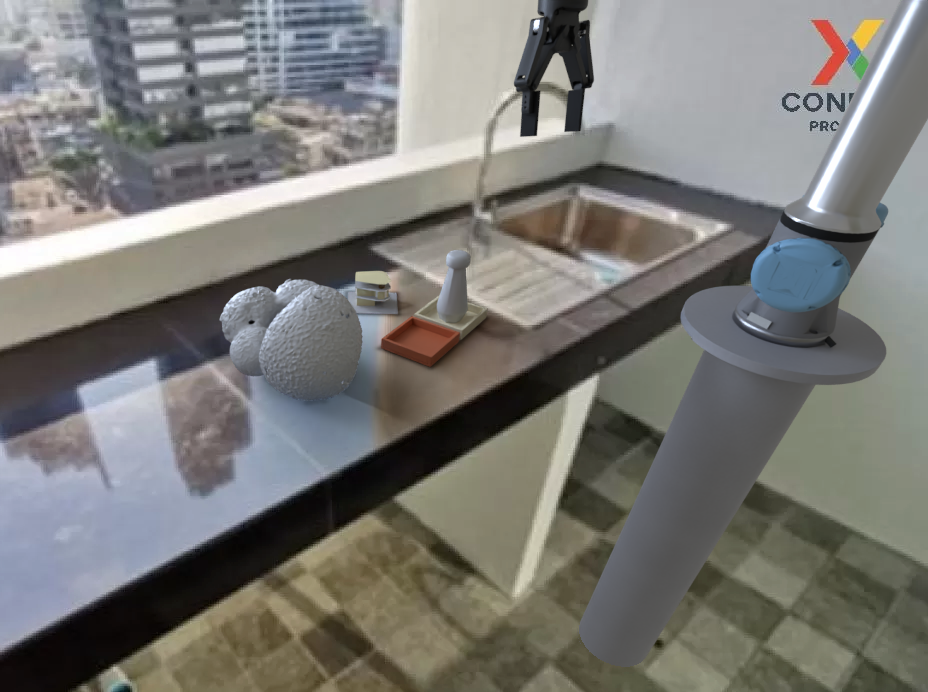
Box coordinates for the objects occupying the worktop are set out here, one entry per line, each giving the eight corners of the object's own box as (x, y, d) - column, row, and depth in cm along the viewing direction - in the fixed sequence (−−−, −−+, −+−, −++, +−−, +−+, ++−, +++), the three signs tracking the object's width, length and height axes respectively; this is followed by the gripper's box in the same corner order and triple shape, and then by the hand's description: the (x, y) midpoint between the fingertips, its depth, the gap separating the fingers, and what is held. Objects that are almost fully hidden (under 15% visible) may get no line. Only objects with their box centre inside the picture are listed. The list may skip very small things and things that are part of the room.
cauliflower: (323, 286, 111) (289, 208, 91) (397, 387, 102) (378, 325, 81) (231, 347, 112) (176, 284, 91) (296, 454, 102) (251, 409, 82)
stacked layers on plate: (346, 313, 118) (346, 287, 115) (348, 292, 125) (348, 267, 121) (397, 314, 118) (399, 288, 114) (396, 292, 124) (398, 267, 121)
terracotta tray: (458, 341, 110) (460, 332, 108) (430, 367, 103) (431, 357, 102) (410, 325, 114) (411, 315, 113) (380, 348, 108) (381, 338, 107)
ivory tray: (486, 317, 116) (488, 308, 115) (461, 340, 110) (462, 330, 109) (439, 302, 121) (441, 293, 120) (413, 323, 115) (413, 313, 114)
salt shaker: (472, 317, 115) (482, 252, 107) (453, 328, 112) (463, 262, 104) (447, 307, 118) (455, 243, 110) (429, 317, 115) (436, 252, 107)
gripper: (583, -7, 104) (569, 130, 113) (496, -19, 90) (488, 139, 99) (627, -17, 98) (608, 128, 108) (541, -31, 85) (528, 137, 94)
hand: (551, 134), depth 104 cm, fingers open, 13 cm apart
